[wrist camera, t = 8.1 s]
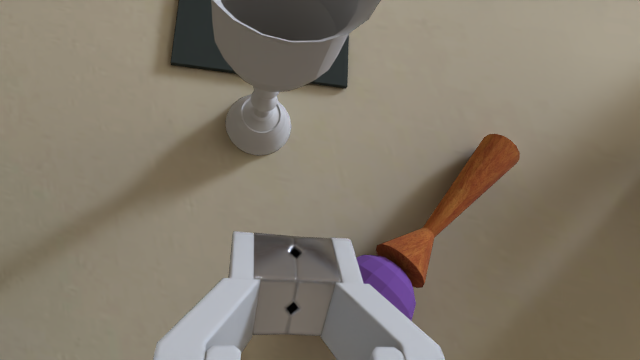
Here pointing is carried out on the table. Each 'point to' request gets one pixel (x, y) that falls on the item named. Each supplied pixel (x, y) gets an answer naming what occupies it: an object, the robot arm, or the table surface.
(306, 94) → the table surface
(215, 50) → the mat
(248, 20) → the chalice
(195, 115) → the table surface
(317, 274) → the robot arm
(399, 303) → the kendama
